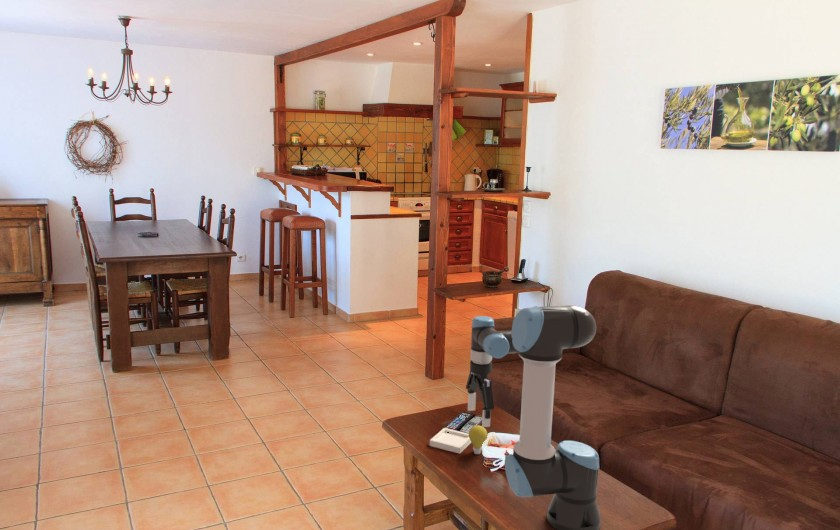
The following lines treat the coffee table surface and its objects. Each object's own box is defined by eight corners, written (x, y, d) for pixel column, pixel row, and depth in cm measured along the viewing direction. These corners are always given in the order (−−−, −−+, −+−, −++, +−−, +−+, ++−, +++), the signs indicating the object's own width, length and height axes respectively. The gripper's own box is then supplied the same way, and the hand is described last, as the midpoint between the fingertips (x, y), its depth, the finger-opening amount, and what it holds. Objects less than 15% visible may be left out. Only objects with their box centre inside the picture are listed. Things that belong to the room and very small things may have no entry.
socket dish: (459, 453, 225) (460, 447, 225) (429, 445, 230) (429, 440, 230) (473, 440, 235) (473, 435, 235) (444, 433, 241) (444, 427, 240)
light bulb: (487, 449, 229) (488, 423, 227) (486, 458, 222) (487, 431, 220) (468, 447, 230) (469, 421, 228) (466, 456, 223) (468, 429, 222)
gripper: (506, 372, 209) (502, 432, 213) (477, 348, 233) (475, 403, 237) (485, 374, 207) (482, 435, 211) (458, 350, 231) (456, 405, 235)
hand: (478, 418), depth 224 cm, fingers open, 13 cm apart
